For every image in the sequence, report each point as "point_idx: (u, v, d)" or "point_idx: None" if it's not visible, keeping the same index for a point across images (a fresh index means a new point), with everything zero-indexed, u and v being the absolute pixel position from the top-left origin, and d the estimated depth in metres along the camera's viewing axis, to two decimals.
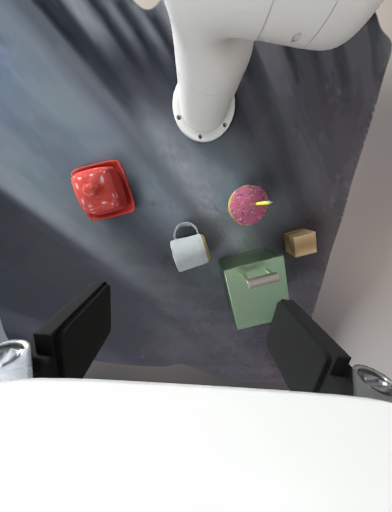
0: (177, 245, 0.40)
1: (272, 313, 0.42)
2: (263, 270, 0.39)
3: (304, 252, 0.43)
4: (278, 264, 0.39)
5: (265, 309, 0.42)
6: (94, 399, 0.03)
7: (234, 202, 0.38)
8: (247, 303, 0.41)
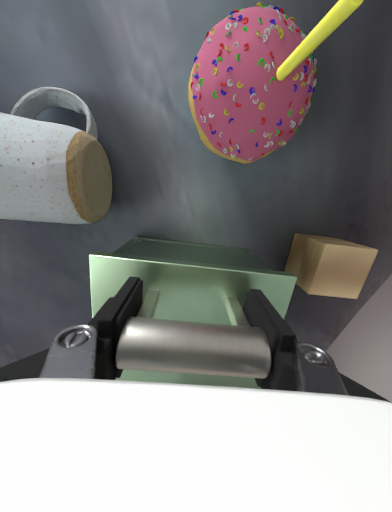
0: None
1: None
2: (221, 301, 0.12)
3: (331, 289, 0.17)
4: (271, 297, 0.12)
5: None
6: (94, 399, 0.03)
7: (210, 46, 0.11)
8: (143, 378, 0.14)
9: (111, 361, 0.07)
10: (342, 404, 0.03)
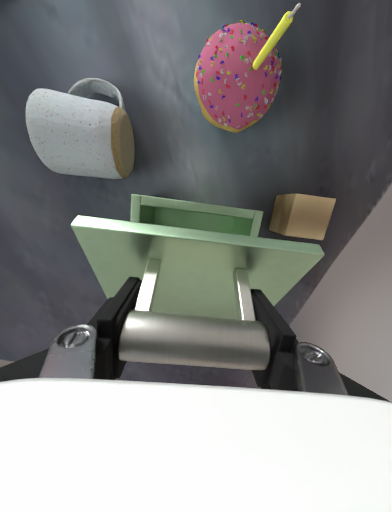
0: (51, 92, 0.17)
1: None
2: (229, 270, 0.11)
3: (302, 231, 0.23)
4: (285, 270, 0.11)
5: None
6: (94, 399, 0.03)
7: (209, 48, 0.17)
8: None
9: (111, 360, 0.07)
10: (342, 404, 0.03)
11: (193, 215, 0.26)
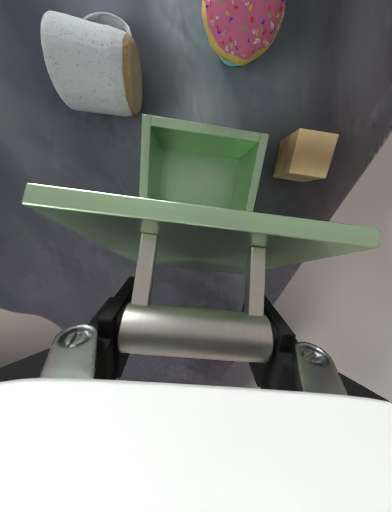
0: (64, 14, 0.17)
1: (211, 268, 0.20)
2: (243, 246, 0.09)
3: (305, 168, 0.23)
4: (316, 251, 0.08)
5: (199, 266, 0.18)
6: (94, 399, 0.03)
7: None
8: (159, 258, 0.15)
9: (112, 360, 0.07)
10: (342, 404, 0.03)
11: (199, 160, 0.26)
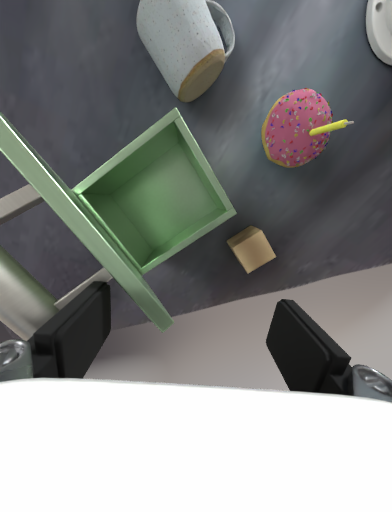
0: None
1: None
2: None
3: (243, 256, 0.28)
4: None
5: None
6: (94, 399, 0.03)
7: (302, 93, 0.21)
8: None
9: None
10: (342, 404, 0.03)
11: (194, 179, 0.28)
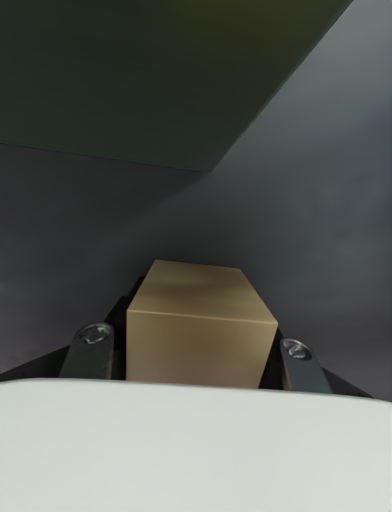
0: None
1: None
2: None
3: (147, 361, 0.06)
4: None
5: None
6: (94, 399, 0.03)
7: None
8: None
9: None
10: (342, 404, 0.03)
11: None
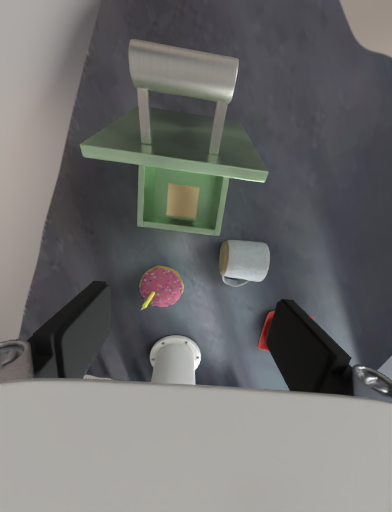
0: (253, 280, 0.34)
1: (170, 114, 0.21)
2: (155, 144, 0.14)
3: (172, 197, 0.29)
4: (108, 140, 0.13)
5: (181, 118, 0.20)
6: (94, 399, 0.03)
7: (176, 298, 0.35)
8: None
9: None
10: (342, 404, 0.03)
11: None
